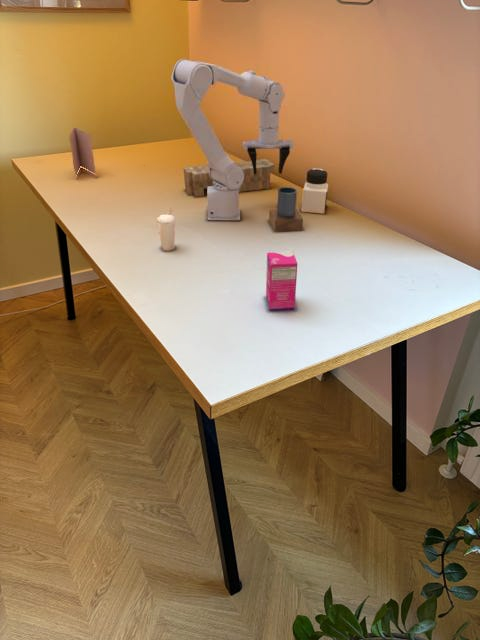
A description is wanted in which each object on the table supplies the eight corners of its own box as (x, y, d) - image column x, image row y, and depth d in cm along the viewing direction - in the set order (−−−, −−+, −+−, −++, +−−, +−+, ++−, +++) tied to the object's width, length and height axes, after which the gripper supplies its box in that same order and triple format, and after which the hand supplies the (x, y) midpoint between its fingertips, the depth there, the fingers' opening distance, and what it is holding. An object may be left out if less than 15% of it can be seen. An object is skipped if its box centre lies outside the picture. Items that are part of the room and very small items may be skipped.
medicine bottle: (324, 214, 157) (328, 175, 151) (301, 212, 158) (304, 173, 152) (326, 205, 163) (330, 167, 156) (303, 203, 164) (306, 165, 158)
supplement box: (264, 297, 116) (266, 251, 110) (290, 296, 116) (294, 250, 110) (267, 311, 111) (270, 263, 105) (295, 310, 112) (299, 263, 105)
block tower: (191, 200, 168) (274, 188, 175) (189, 174, 163) (275, 163, 171) (185, 192, 174) (266, 180, 182) (183, 167, 169) (266, 156, 177)
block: (274, 231, 146) (275, 220, 144) (268, 220, 152) (269, 209, 150) (302, 230, 147) (303, 218, 145) (295, 219, 154) (296, 208, 152)
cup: (277, 217, 145) (278, 193, 142) (276, 210, 150) (277, 186, 146) (296, 217, 146) (298, 193, 142) (294, 210, 150) (296, 187, 146)
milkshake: (181, 244, 138) (179, 208, 133) (172, 253, 134) (170, 216, 128) (165, 242, 139) (163, 206, 134) (156, 250, 135) (153, 214, 130)
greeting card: (78, 170, 189) (71, 127, 181) (99, 169, 190) (93, 127, 182) (73, 180, 180) (66, 135, 172) (95, 179, 181) (89, 135, 172)
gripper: (244, 130, 145) (244, 178, 153) (296, 129, 146) (293, 176, 154) (242, 124, 151) (242, 170, 159) (292, 123, 152) (289, 169, 159)
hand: (267, 172), depth 157 cm, fingers open, 7 cm apart
